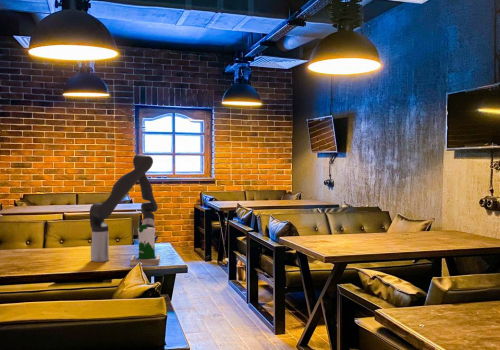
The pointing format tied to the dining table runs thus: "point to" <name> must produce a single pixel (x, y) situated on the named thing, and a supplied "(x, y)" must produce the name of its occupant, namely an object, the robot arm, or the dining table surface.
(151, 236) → the soya milk
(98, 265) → the dining table surface
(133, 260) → the stop tray
